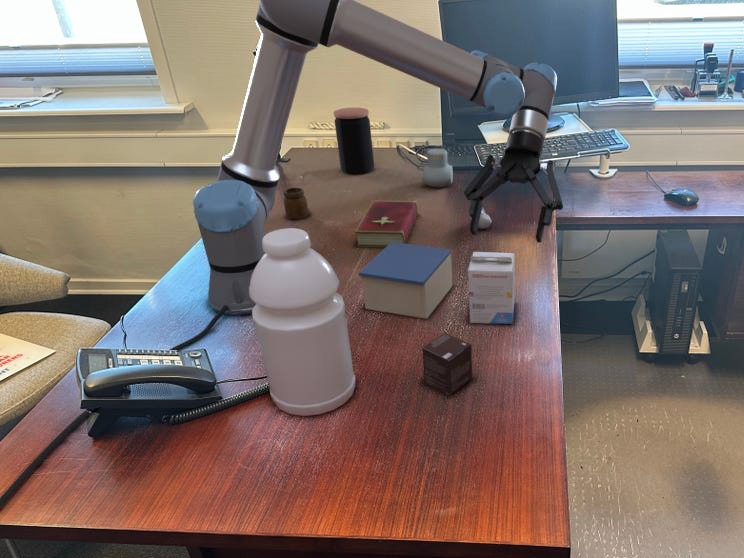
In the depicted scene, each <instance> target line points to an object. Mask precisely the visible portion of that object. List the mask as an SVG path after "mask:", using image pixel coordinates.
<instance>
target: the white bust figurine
mask: <svg viewBox="0 0 744 558" xmlns="http://www.w3.org/2000/svg"><path fill="white" fill-rule="evenodd" d="M491 225H492V219H491V218H490V215H489V214H487V213H486V210H485V208H484V207H483V206H482V211H481V215H480V220H479V224H478V229H480V230H485V229H489V227H490V226H491Z"/></svg>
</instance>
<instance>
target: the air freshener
mask: <svg viewBox="0 0 744 558" xmlns="http://www.w3.org/2000/svg"><path fill="white" fill-rule="evenodd" d="M426 159H427V160H426V161H427V164H425V165H424V166H423V170H422V182H423V184H424V185H426V186H428V187H431V188H444V187H448V186H450V185H451V184H453V178H454V177H453V176H454V170H453V168H454V167H453V166H452V165H451V164H449V162H448V151H447V150H446V149H445V148H431V149H429V150H427V151H426Z"/></svg>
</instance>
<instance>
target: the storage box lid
mask: <svg viewBox="0 0 744 558" xmlns="http://www.w3.org/2000/svg"><path fill="white" fill-rule="evenodd" d="M450 254H451V255H452V249H449V248H442V247H436V246H435V247H434V246H426V245H419V244H411V243H397V242H391V243H390V244H389V245H388V246H387V247H384V248H383V249H382V250H381V251H380V252H379V253H378V254H377V255H376V256H375V257H374V258H372V259H371V260H370V261H369V263H368V264H366V265H365V267H363V268H362V269H360V271H359V272H358V276H359V277H361V276H362V277H368V278H375V279H382V280H388V281H395V282H402V283H409V284H415V285H422V286H423V285H424V284H425V283H426V282H427V281H428V279H429V278H430V277H431V276H432V275H433V274H434V272H435V271H436V270H437V269H438V268H439V267H440V265H441V264H442V263H443V262H444V261H445V259H446V258H447V257H448V256H449V255H450ZM362 277H361V278H362Z"/></svg>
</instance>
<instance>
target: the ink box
mask: <svg viewBox="0 0 744 558" xmlns="http://www.w3.org/2000/svg"><path fill="white" fill-rule="evenodd" d="M515 256H516V255H515V253H514V252H496V251H495V252H490V251H472V255H471V256H470V257H469V259H470V262H469V265H468V268H467V281H468V286H467V287H468V305H469V306H468V307H469V308H468V309H469V323H470V324H491V325H495V324H497V325H513V323H514V312H515V276H516V275H515V270H516V269H515V266H516V263H515V262H516V261H515Z"/></svg>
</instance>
